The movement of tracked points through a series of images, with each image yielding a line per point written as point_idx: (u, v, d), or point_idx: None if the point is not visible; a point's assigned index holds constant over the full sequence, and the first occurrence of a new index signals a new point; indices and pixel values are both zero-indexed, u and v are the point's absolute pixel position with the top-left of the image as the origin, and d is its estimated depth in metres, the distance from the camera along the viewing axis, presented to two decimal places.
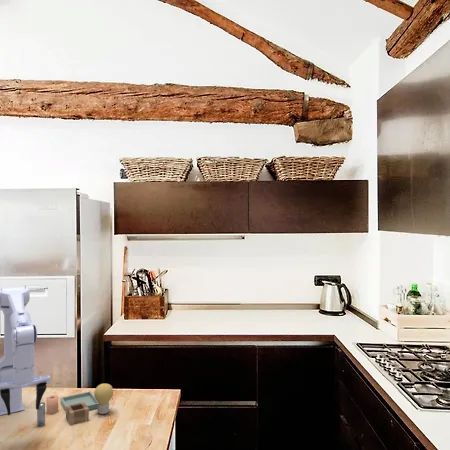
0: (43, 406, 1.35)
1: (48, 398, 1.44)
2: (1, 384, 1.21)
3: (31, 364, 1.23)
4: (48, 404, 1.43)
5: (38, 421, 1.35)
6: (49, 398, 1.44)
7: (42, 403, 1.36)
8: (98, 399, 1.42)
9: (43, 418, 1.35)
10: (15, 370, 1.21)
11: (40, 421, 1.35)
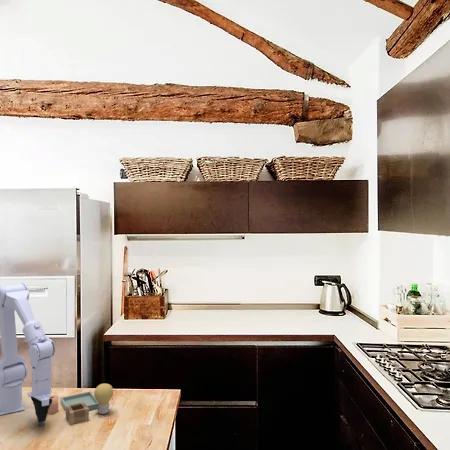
0: None
1: None
2: None
3: (50, 375, 1.36)
4: None
5: (38, 421, 1.35)
6: (49, 398, 1.44)
7: None
8: (98, 399, 1.42)
9: None
10: None
11: None
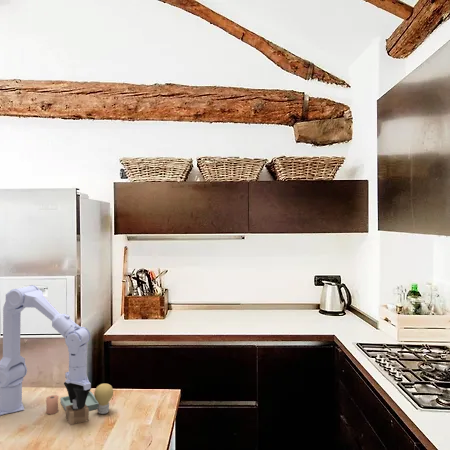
0: None
1: (48, 398, 1.45)
2: None
3: (86, 361, 1.41)
4: (48, 404, 1.43)
5: None
6: (49, 398, 1.45)
7: None
8: (98, 399, 1.42)
9: None
10: None
11: None
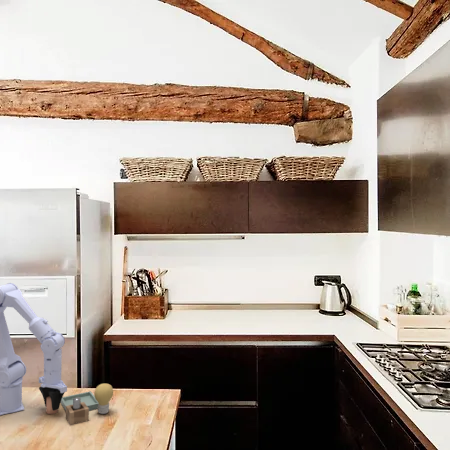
0: (79, 401, 1.40)
1: (48, 398, 1.44)
2: (43, 377, 1.49)
3: None
4: (48, 404, 1.43)
5: None
6: (49, 398, 1.44)
7: (78, 398, 1.40)
8: (98, 399, 1.42)
9: None
10: None
11: None
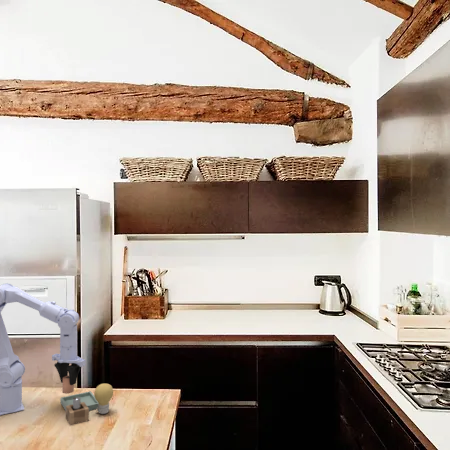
0: (79, 400, 1.40)
1: (64, 378, 1.47)
2: (56, 355, 1.50)
3: None
4: (65, 383, 1.46)
5: None
6: (65, 378, 1.47)
7: (78, 398, 1.40)
8: (98, 399, 1.42)
9: None
10: None
11: None
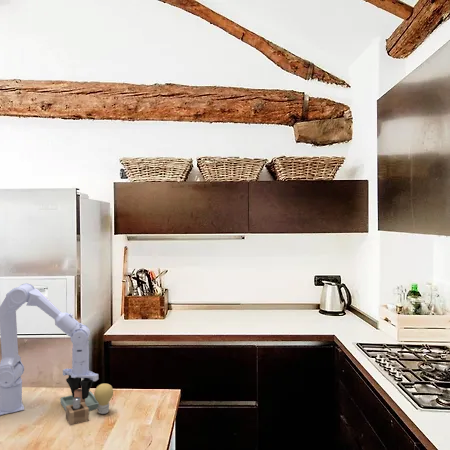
0: (79, 401, 1.40)
1: (76, 391, 1.49)
2: (67, 370, 1.52)
3: None
4: None
5: None
6: (77, 391, 1.49)
7: (78, 398, 1.40)
8: (98, 399, 1.42)
9: None
10: (72, 361, 1.50)
11: None
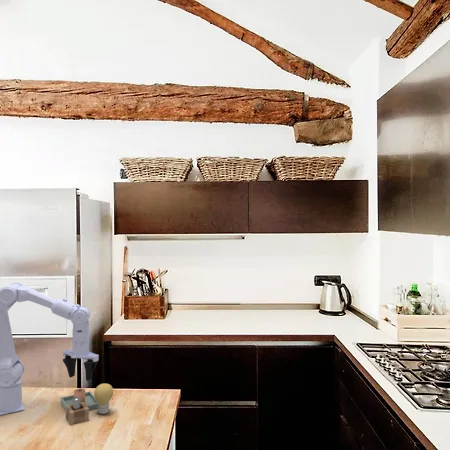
0: (79, 400, 1.40)
1: (76, 391, 1.49)
2: (67, 351, 1.52)
3: None
4: None
5: None
6: (77, 391, 1.49)
7: (78, 398, 1.40)
8: (98, 399, 1.42)
9: None
10: (72, 342, 1.50)
11: None
